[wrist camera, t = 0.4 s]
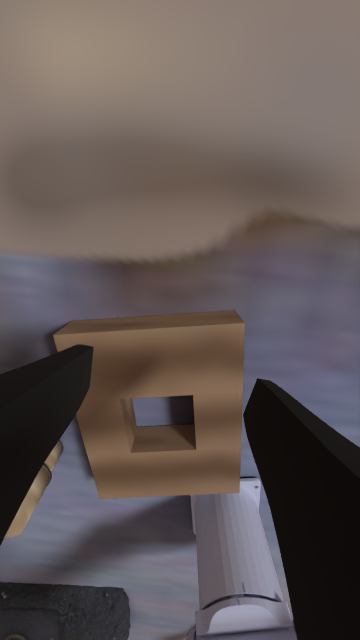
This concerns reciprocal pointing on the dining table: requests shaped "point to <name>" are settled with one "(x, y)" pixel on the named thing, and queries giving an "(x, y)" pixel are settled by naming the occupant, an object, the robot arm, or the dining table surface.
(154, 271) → the dining table surface
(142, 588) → the dining table surface
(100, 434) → the board
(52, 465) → the peg
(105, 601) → the dark slate chunk
